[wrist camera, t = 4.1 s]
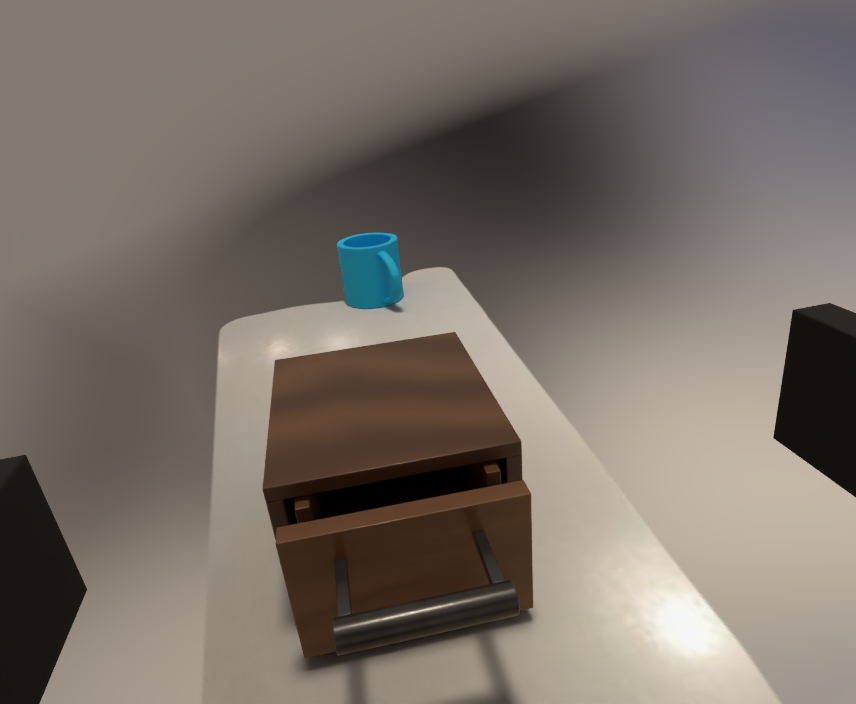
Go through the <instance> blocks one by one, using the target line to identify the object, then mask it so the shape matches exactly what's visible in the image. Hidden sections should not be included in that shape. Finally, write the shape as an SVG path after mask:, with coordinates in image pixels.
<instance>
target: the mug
mask: <svg viewBox="0 0 856 704" xmlns="http://www.w3.org/2000/svg"><path fill="white" fill-rule="evenodd" d="M337 249H338V256H339V262H340V269H341V274H342V282H343V288H344V294H345V301H346V303H347V305H349V306H351V307H354V308H361V309H370V308H379V307H384V306H388V305H391V304H394V303H396V302H398V301H399V300H401V299H402V298H403V287H402V278H401V269H400V260H399V251H398V242H397V236H395V235H394V234H389V233H367V234H359V235H355V236H350V237H347V238H344V239H342V240H340V241H339V242H338V243H337Z"/></svg>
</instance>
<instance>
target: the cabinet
mask: <svg viewBox="0 0 856 704" xmlns="http://www.w3.org/2000/svg"><path fill="white" fill-rule="evenodd" d="M521 454H522V450H521V440H520V438H519V437H518V435H517V434H516V432H515V430H514V429H513V427H512V425H511V424H510V422H509V420H508V419H507V417H506V415H505V414H504V412H503V410H502V409H501V407H500V405H499V404H498V402H497V400H496V399H495V397H494V396H493V394H492V392H491V391H490V389H489V387H488V386H487V384H486V382H485V381H484V379H483V377H482V376H481V374H480V372H479V371H478V369H477V367H476V366H475V364H474V363H473V361H472V359H471V358H470V356H469V354H468V353H467V351H466V349H465V348H464V346H463V344H462V343H461V341H460V339H459V338H458V336H457V334H456V333H455V332H452V333H446V334H440V335H433V336H427V337H420V338H414V339H408V340H401V341H395V342H389V343H382V344H376V345H369V346H363V347H357V348H350V349H344V350H337V351H331V352H325V353H318V354H312V355H306V356H299V357H293V358H286V359H280V360H275V366H274V377H273V387H272V397H271V408H270V418H269V429H268V439H267V450H266V460H265V470H264V481H263V492H264V496H265V500H266V504H267V508H268V512H269V516H270V520H271V523H272V527H273V531H274V535H275V539H276V531H277V528H278V527H282V526H288V525H293V524H298V523H297V519H296V514H295V510H294V509H295V497H298V496H303V495H308V494H314V493H319V492H324V491H330V490H335V489H340V488H346V487H351V486H356V485H362V484H367V483H372V482H378V481H383V480H388V479H394V478H399V477H404V476H410V475H415V474H420V473H426V472H431V471H436V470H442V469H447V468H452V467H458V466H463V465H468V464H474V463H479V462H484V461H490V460H495V461H496V463H497V465H498V467H499V469H500V472H501V484H505V483H510V482H515V481H520V480H522V455H521Z"/></svg>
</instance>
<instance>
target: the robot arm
mask: <svg viewBox="0 0 856 704" xmlns="http://www.w3.org/2000/svg"><path fill="white" fill-rule="evenodd" d="M774 439H776V440H777V441H778V442H780V443H781V444H783V445H784V446H785V447H787V448H788V449H790V450H791V451H792V452H794V453H795V454H796V455H798V456H799V457H801V458H802V459H803V460H805V461H806V462H807V463H809V464H810V465H812V466H813V467H814V468H816V469H817V470H819V471H820V472H821V473H823V474H824V475H826V476H827V477H828V478H830V479H831V480H832V481H834V482H835V483H837V484H838V485H839V486H841V487H842V488H844V489H845V490H846V491H848V492H849V493H851V494H852V495H853V496H855V497H856V313H853V312H851V311H849V310H846V309H843V308H841V307H839V306H836V305H834V304H831V303H828V304H823V305H817V306H812V307H807V308H801V309H796V310H793V313H792V319H791V326H790V333H789V340H788V346H787V352H786V359H785V366H784V373H783V378H782V385H781V392H780V398H779V405H778V411H777V418H776V424H775V431H774ZM86 591H87V588H86V586H85V584H84V582H83V579H82V577H81V575H80V573H79V571H78V569H77V566H76V564H75V562H74V560H73V557H72V555H71V553H70V551H69V549H68V546H67V544H66V542H65V540H64V538H63V535H62V533H61V531H60V529H59V527H58V525H57V522H56V520H55V518H54V516H53V514H52V511H51V509H50V507H49V505H48V503H47V500H46V498H45V496H44V494H43V492H42V489H41V487H40V485H39V483H38V481H37V478H36V476H35V474H34V472H33V470H32V467H31V465H30V464H29V461H28V459H27V457H26V455H22V456H17V457H12V458H6V459H1V460H0V704H39V703H40V701H41V698H42V696H43V694H44V691H45V689H46V686H47V684H48V681H49V679H50V677H51V674H52V672H53V669H54V667H55V665H56V662H57V660H58V657H59V655H60V653H61V650H62V648H63V646H64V643H65V641H66V638H67V636H68V634H69V631H70V629H71V626H72V624H73V622H74V619H75V617H76V614H77V612H78V610H79V607H80V605H81V603H82V600H83V598H84V595H85V593H86Z"/></svg>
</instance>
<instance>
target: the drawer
mask: <svg viewBox="0 0 856 704" xmlns="http://www.w3.org/2000/svg"><path fill="white" fill-rule="evenodd" d="M294 510H295V514H296V519H297V523H298V524H293V525H288V526H282V527H278V528H277V531H276V547H277V551H278V555H279V559H280V563H281V567H282V571H283V575H284V579H285V583H286V587H287V591H288V595H289V599H290V603H291V607H292V610H293V614H294V618H295V622H296V626H297V630H298V634H299V638H300V642H301V646H302V650H303V654H304V658H310V657H314V656H319V655H323V654H328V653H332V652H336V653H337V655H338V656H340V655H344V654H349V653H353V652H358V651H362V650H366V649H371V648H375V647H380V646H384V645H389V644H393V643H398V642H402V641H407V640H411V639H415V638H420V637H424V636H429V635H433V634H438V633H442V632H447V631H451V630H456V629H460V628H465V627H469V626H473V625H478V624H482V623H487V622H491V621H496V620H500V619H505V618H509V617H514V616H518V615H519V614H520V610H525V609H529V608H533V577H532V520H531V493H530V491H529V489H528V488H527V486H526V484H525V482H524V480H520V481H515V482H510V483H505V484H501V472H500V469H499V467H498V465H497V463H496V461H495V460H490V461H484V462H479V463H474V464H468V465H463V466H458V467H452V468H447V469H442V470H436V471H431V472H426V473H420V474H415V475H410V476H404V477H399V478H394V479H388V480H383V481H378V482H372V483H367V484H362V485H356V486H351V487H346V488H340V489H335V490H330V491H324V492H319V493H314V494H308V495H303V496H298V497H295V509H294Z"/></svg>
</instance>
